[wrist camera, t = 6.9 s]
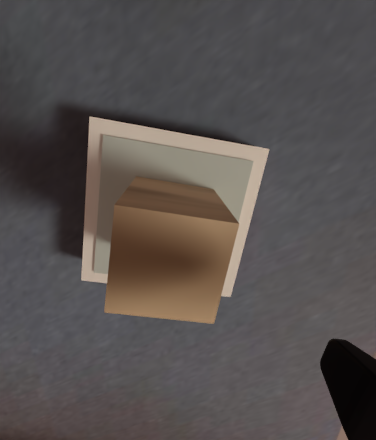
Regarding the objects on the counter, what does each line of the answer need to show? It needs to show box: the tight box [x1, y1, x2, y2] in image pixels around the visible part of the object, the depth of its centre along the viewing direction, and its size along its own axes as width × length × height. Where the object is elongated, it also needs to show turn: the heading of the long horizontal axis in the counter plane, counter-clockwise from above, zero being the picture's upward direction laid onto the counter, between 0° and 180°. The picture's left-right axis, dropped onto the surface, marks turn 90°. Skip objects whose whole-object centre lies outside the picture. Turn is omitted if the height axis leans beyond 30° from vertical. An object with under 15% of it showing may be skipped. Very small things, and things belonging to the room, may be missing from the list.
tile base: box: [81, 117, 269, 297], centre depth 17 cm, size 10×10×3 cm
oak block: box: [104, 176, 239, 324], centre depth 13 cm, size 4×4×6 cm
